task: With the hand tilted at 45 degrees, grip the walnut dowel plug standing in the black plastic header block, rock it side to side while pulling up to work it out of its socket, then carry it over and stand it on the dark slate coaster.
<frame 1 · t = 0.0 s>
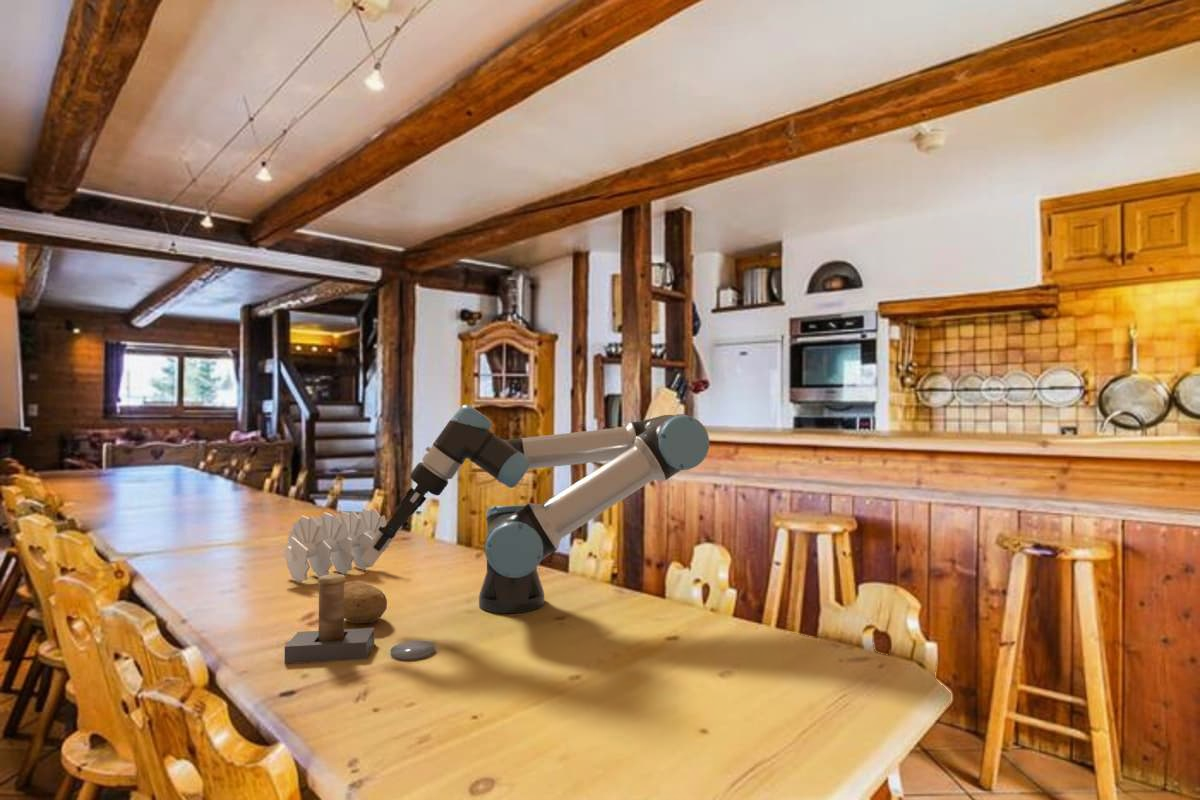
hand: (372, 555, 136), 15 cm above the table, tool tilted 35°, fingers open, 13 cm apart
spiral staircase: (332, 576, 180), on the table
coaster: (413, 652, 122), on the table
potato: (361, 623, 140), on the table
plug: (331, 615, 122), in the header
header: (331, 653, 122), on the table
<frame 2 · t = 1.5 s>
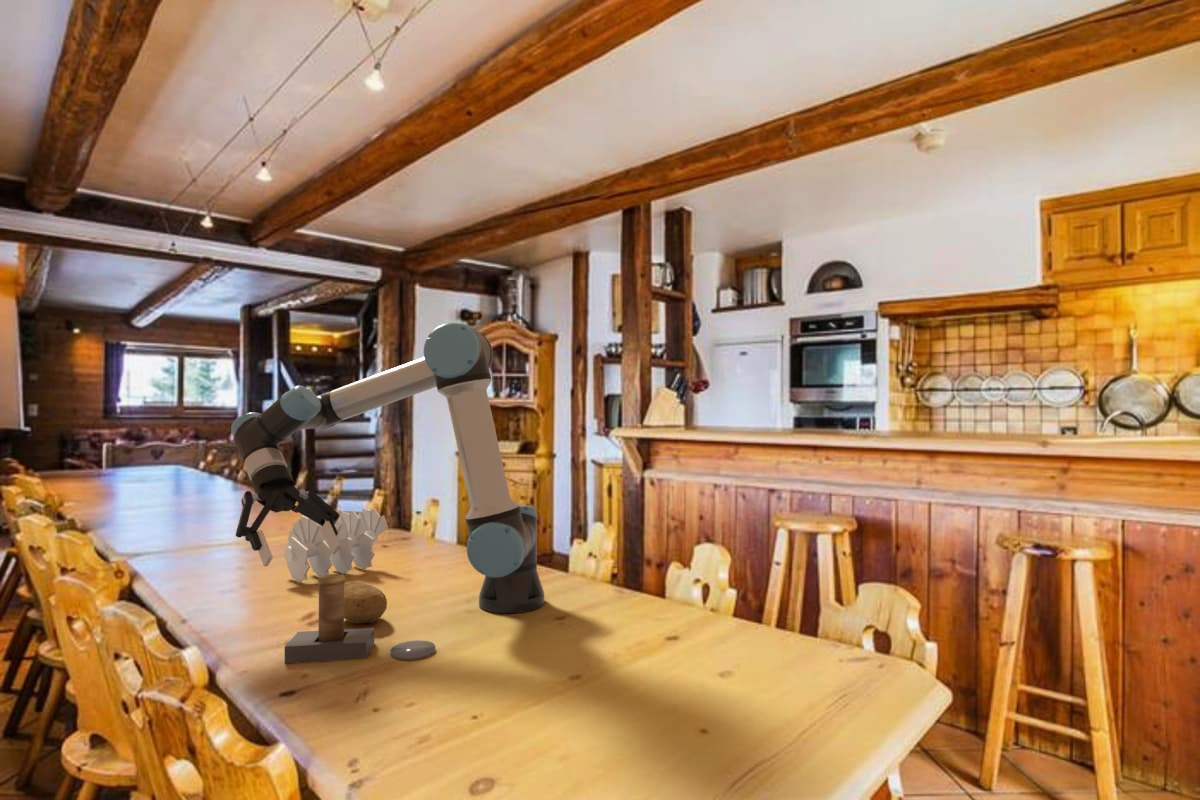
hand: (303, 555, 129), 17 cm above the table, tool tilted 45°, fingers open, 13 cm apart
nothing on the table moved.
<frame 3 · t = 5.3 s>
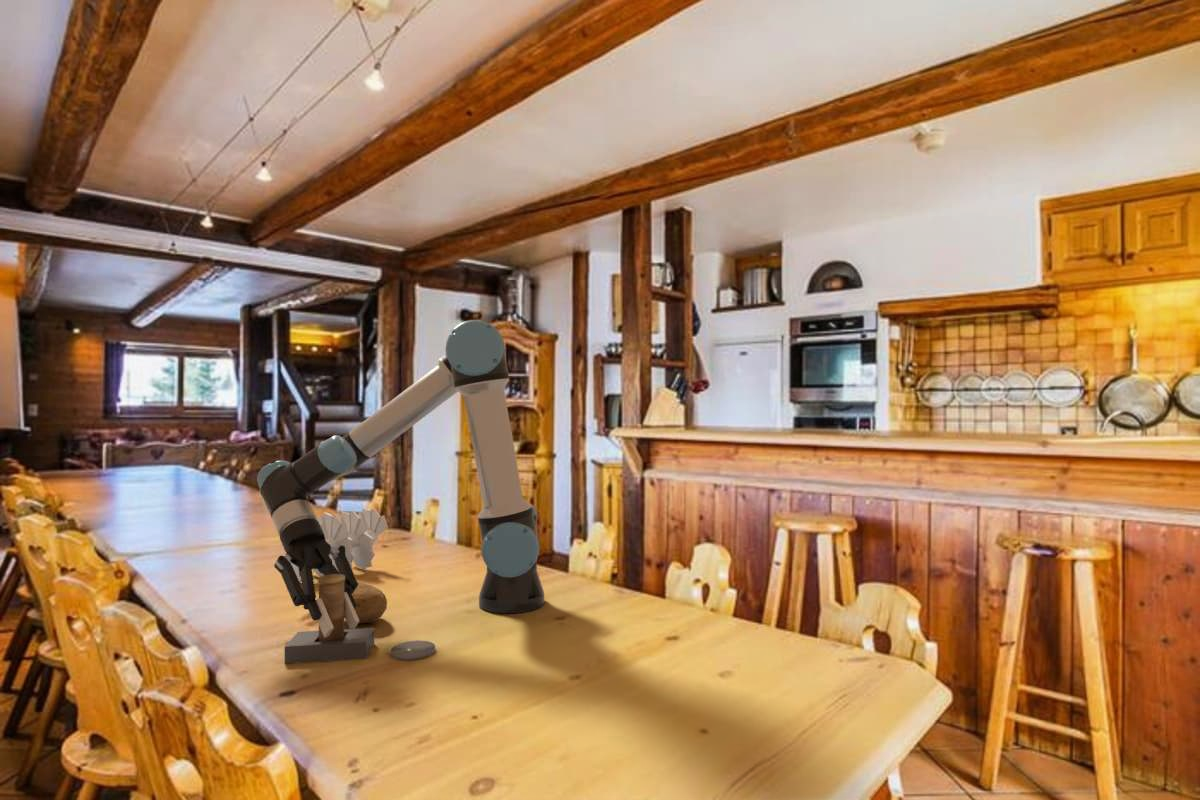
hand: (342, 629, 120), 5 cm above the table, tool tilted 45°, fingers closed on plug, 4 cm apart
plug: (331, 615, 122), in the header, touching gripper
everything else where it was.
when the fingers open (8 cm above the table, at t = 11.4 s): plug drops 1 cm, resting on coaster.
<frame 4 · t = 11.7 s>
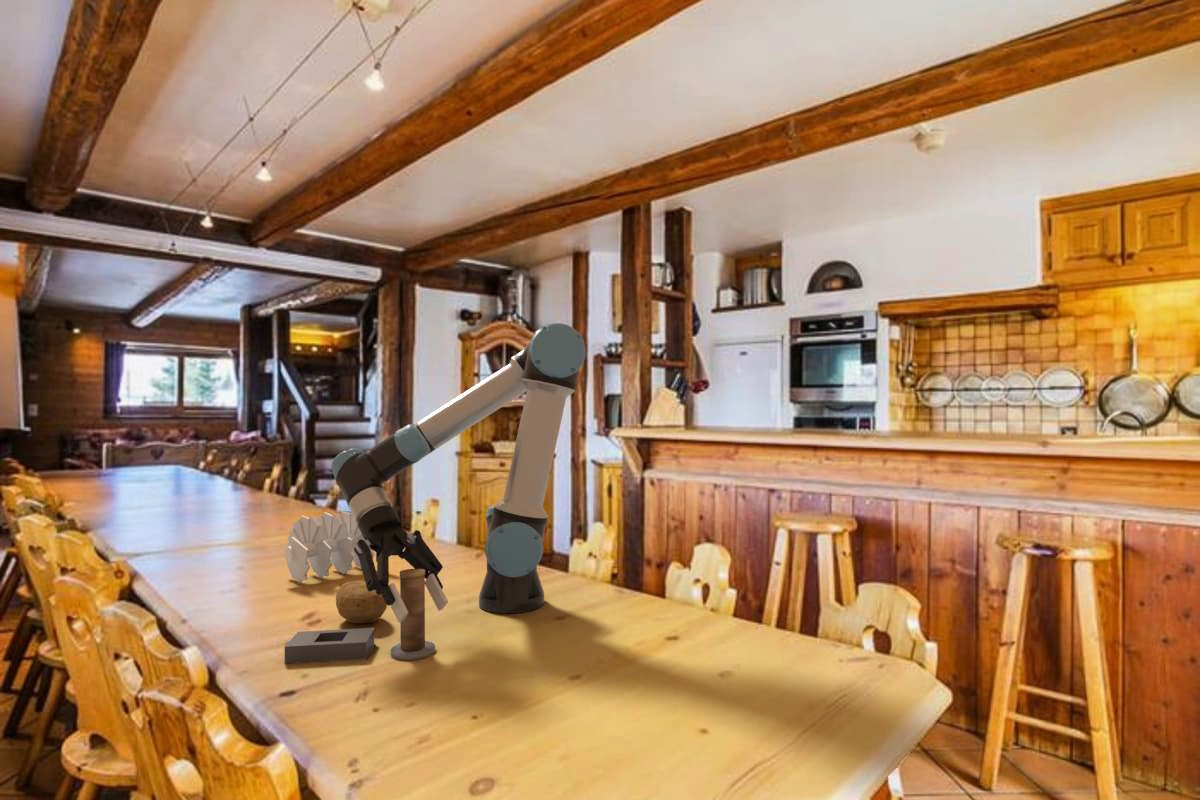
hand: (424, 611, 121), 8 cm above the table, tool tilted 45°, fingers open, 8 cm apart
plug: (412, 609, 123), on the coaster, point 8 cm above the table
everything else where it was.
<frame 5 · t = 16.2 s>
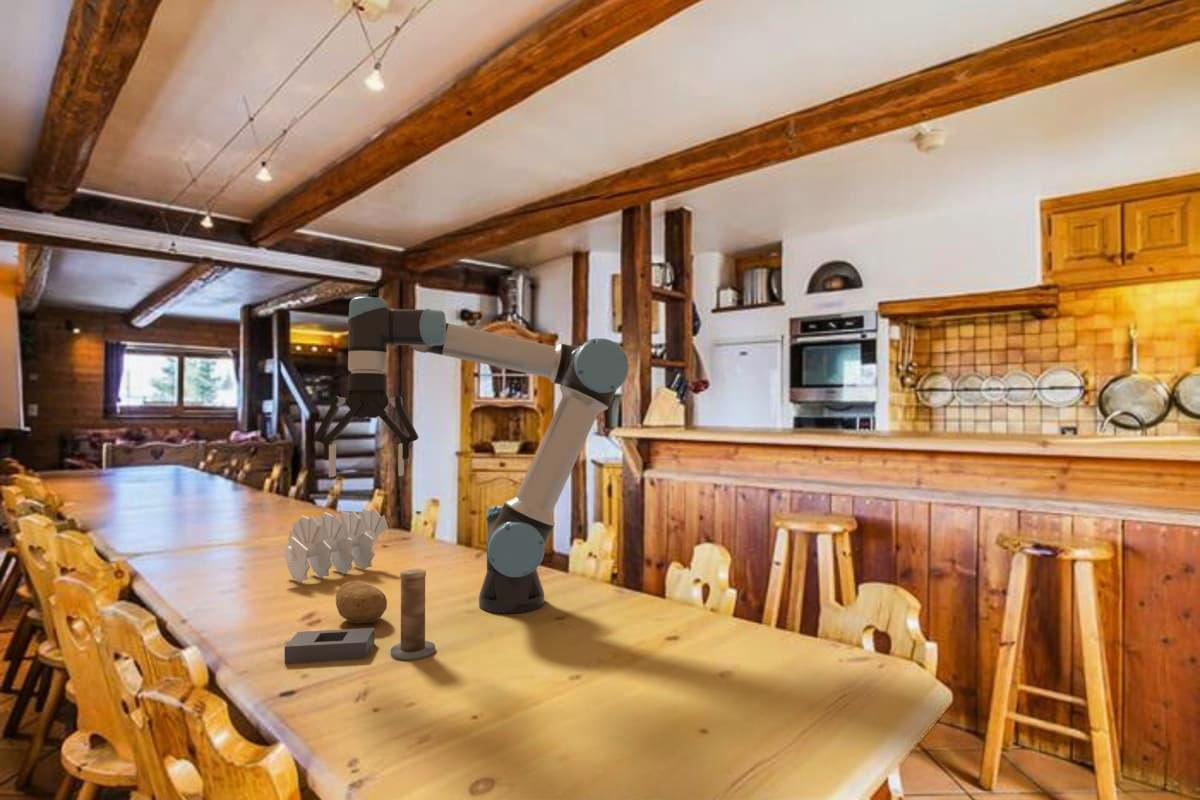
hand: (367, 476, 135), 32 cm above the table, tool pointing down, fingers open, 13 cm apart
nothing on the table moved.
at the end: plug 0.1 cm from the coaster (horizontally); plug touching coaster; the gripper is holding nothing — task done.
